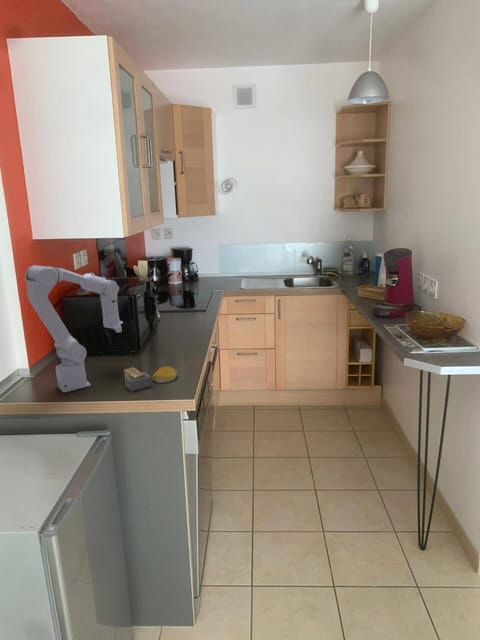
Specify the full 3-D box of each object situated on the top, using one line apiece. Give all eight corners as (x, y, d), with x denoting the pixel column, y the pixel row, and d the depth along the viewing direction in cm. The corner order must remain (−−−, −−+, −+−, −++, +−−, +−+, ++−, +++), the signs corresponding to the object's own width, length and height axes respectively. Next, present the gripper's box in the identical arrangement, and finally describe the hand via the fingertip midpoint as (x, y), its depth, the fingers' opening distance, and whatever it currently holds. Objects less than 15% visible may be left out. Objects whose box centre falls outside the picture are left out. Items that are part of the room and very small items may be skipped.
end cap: (131, 391, 158) (130, 381, 157) (125, 386, 163) (124, 377, 162) (152, 385, 162) (151, 376, 161) (145, 381, 167) (144, 372, 166)
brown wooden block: (135, 389, 160) (134, 377, 159) (125, 381, 169) (124, 369, 167) (145, 386, 162) (144, 374, 161) (134, 378, 170) (133, 367, 169)
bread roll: (149, 383, 165) (148, 372, 164) (159, 374, 174) (158, 364, 173) (171, 384, 163) (170, 373, 162) (180, 374, 172) (179, 364, 171)
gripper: (128, 313, 170) (132, 349, 173) (114, 306, 181) (118, 340, 185) (109, 316, 166) (113, 353, 169) (96, 310, 178) (100, 344, 181)
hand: (114, 346), depth 177 cm, fingers closed
